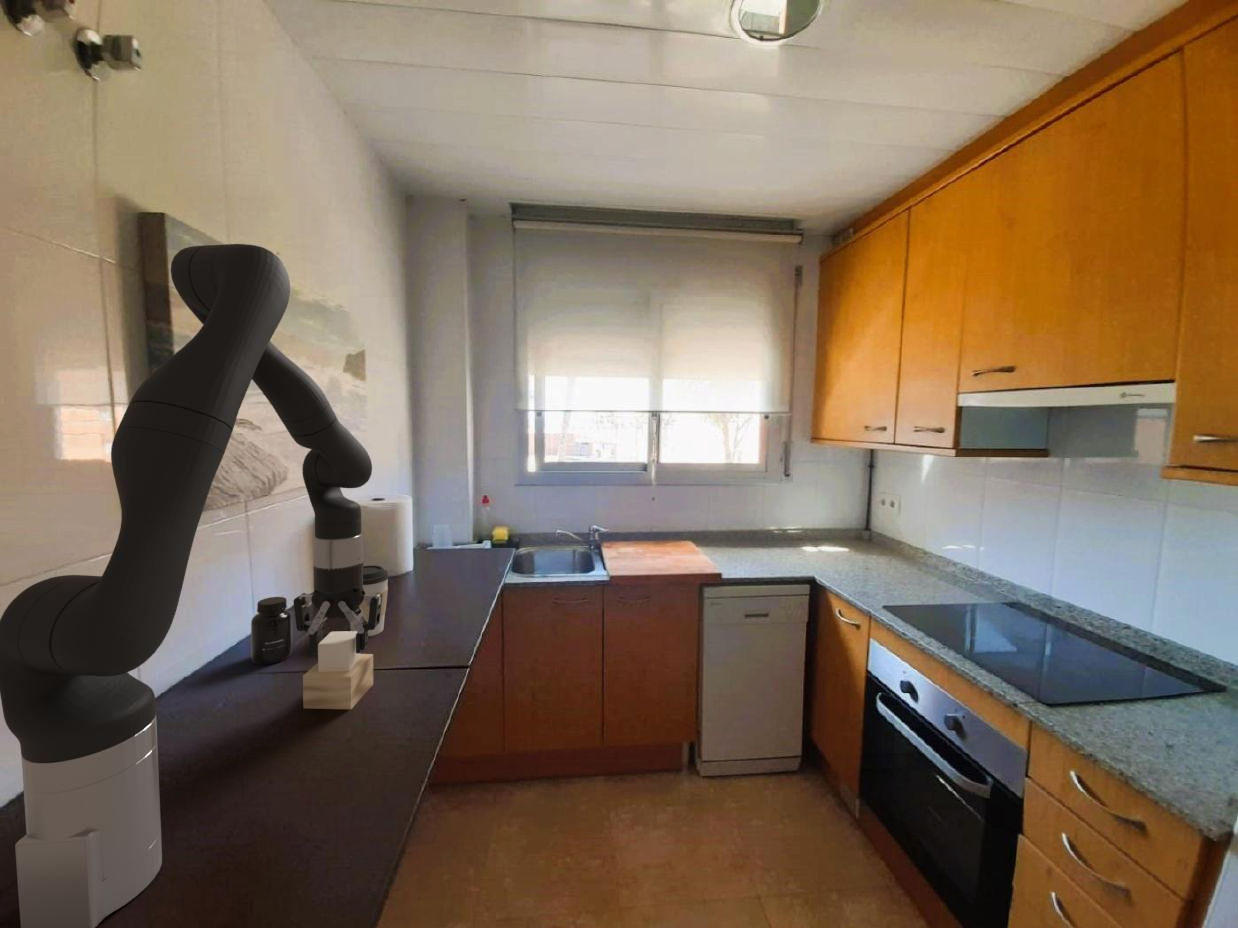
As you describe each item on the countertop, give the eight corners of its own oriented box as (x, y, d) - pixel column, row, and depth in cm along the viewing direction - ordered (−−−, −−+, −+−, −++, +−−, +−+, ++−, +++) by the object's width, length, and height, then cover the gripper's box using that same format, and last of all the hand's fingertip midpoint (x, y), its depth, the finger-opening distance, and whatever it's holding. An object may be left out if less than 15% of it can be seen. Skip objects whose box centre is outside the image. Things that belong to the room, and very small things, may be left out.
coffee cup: (395, 623, 117) (395, 562, 115) (378, 639, 108) (378, 574, 106) (357, 622, 116) (357, 561, 115) (337, 638, 107) (336, 573, 106)
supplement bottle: (271, 667, 94) (270, 608, 93) (242, 663, 95) (241, 604, 94) (300, 651, 101) (300, 596, 100) (273, 647, 102) (272, 592, 101)
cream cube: (349, 671, 83) (349, 643, 83) (318, 671, 83) (318, 644, 82) (360, 657, 88) (360, 630, 88) (331, 657, 88) (331, 631, 87)
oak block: (351, 710, 82) (350, 676, 82) (303, 709, 82) (302, 675, 81) (373, 684, 90) (373, 654, 90) (329, 683, 90) (329, 652, 89)
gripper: (282, 566, 79) (283, 663, 81) (374, 566, 81) (374, 661, 83) (305, 554, 87) (306, 643, 88) (389, 554, 89) (389, 641, 90)
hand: (339, 651), depth 85 cm, fingers open, 6 cm apart
